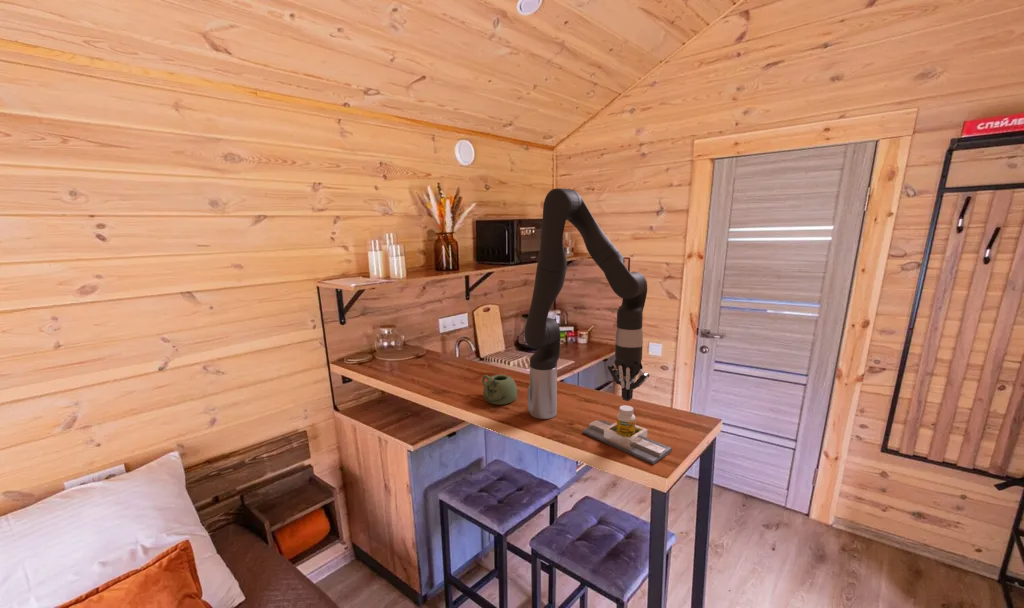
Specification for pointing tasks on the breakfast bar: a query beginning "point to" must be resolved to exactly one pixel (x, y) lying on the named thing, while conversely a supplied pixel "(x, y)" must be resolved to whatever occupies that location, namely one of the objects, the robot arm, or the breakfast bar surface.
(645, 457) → the rail collar
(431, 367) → the breakfast bar surface
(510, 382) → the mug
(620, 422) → the supplement bottle
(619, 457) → the breakfast bar surface
